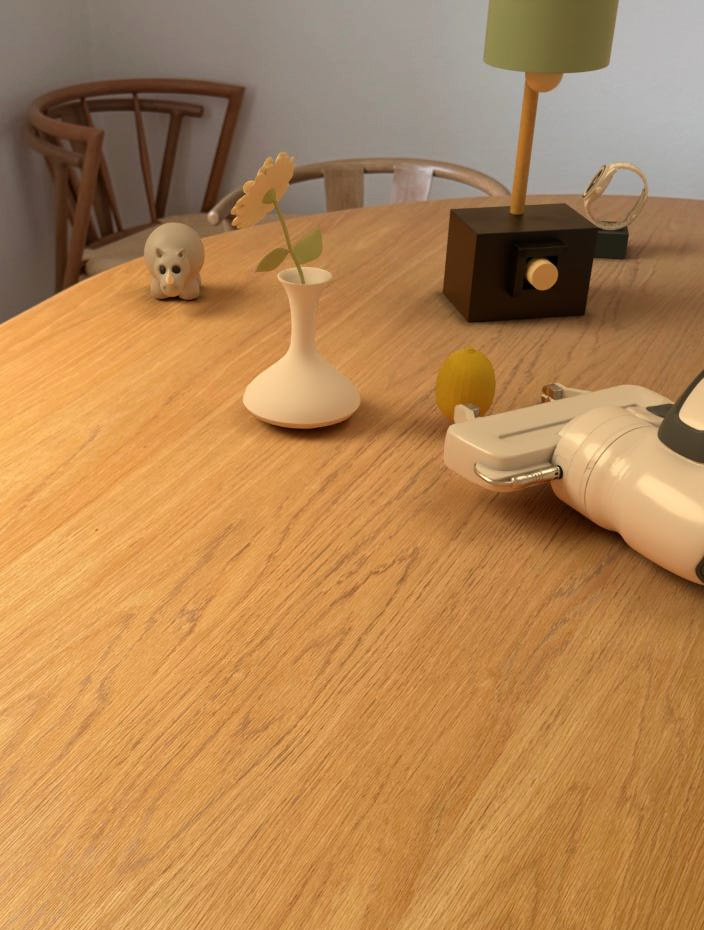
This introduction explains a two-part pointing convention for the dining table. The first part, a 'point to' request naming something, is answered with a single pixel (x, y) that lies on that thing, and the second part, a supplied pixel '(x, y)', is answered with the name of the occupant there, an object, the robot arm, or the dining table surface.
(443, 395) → the lemon
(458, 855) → the dining table surface
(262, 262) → the flower in vase
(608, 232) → the watch
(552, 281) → the lamp switch
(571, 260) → the desk lamp
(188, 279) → the round bodied animal figurine
